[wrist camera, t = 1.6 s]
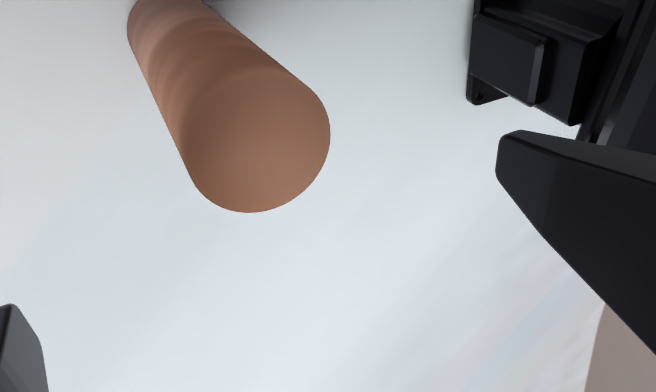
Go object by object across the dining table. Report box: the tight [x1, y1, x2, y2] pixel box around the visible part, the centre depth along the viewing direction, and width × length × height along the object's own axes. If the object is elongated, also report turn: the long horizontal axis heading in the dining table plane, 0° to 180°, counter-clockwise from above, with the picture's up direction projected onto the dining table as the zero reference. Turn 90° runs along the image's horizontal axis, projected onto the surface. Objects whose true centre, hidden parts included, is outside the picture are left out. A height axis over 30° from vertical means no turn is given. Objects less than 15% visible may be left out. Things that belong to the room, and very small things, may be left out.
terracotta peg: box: [127, 0, 330, 213], centre depth 14 cm, size 3×3×10 cm
